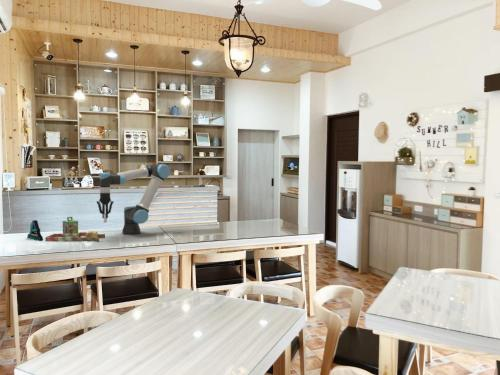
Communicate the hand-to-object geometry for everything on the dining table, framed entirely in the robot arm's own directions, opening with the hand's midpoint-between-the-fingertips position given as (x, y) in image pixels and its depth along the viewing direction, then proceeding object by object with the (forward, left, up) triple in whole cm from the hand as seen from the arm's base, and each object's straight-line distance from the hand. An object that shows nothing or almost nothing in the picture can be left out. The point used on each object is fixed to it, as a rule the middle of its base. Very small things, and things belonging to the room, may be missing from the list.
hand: (105, 222), depth 328 cm
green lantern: (+35, -19, -14) cm, 42 cm away
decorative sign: (+55, 0, -14) cm, 57 cm away
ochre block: (+11, 0, -14) cm, 18 cm away
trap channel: (+23, -4, -14) cm, 27 cm away
